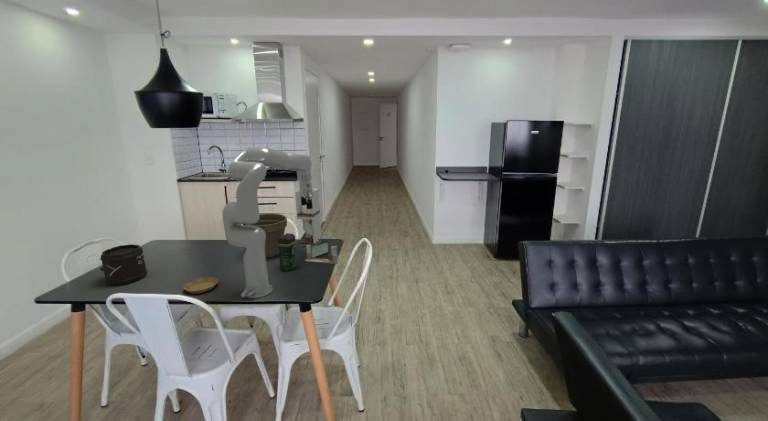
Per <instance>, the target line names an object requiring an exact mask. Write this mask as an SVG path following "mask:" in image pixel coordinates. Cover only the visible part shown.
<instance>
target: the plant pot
mask: <svg viewBox="0 0 768 421" xmlns="http://www.w3.org/2000/svg"><path fill="white" fill-rule="evenodd" d="M242 225H244V226H255V227H259V228H262V229H263V230H264V231H265V233H266V242H265V255H266V258H272V257H275V256H277V255H280V253H279V245H278V238H280V237H281V236H283V235H285V230H286V227H288V226H287V225H288V217H287V216H286V215H284V214H280V213H259V220H258V222H257V223H255V224H242Z"/></svg>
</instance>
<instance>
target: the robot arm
mask: <svg viewBox="0 0 768 421" xmlns="http://www.w3.org/2000/svg"><path fill="white" fill-rule="evenodd" d="M267 167H268V168H275V169H279V170H280V169H281V170H287V171H293V172H294V171H296V176H297V181H298V184H299V185H298V186H299V190H300V195H301V198H302V199H301V205H307V209H312V208H313V207H312V197H313V190H312V189H313V184H312V181H311V180H312V170H311V168H312V160H311V159H310V156H309V155H307V154H297V153H292V152H285V151H281V150H276V149H273V148H270V147H265V146H263V147H262V146H251V147H247V148H245V149H243V151H242V152H240V154H238V155H237V156H236V157H235V158H234V160H233V161H231V162H230V163H229V166H228V169H227V174H228V176H229V177H230V178H231V179H232V180H234V181H238V182H239V181H240V182H239V184H238V186H237V188H236V190H235V198H236V201H229V202H227V203H226V204H225V205H224V206H223V210H222V222H223V227H224V228H223V229H224V235H225V238H226V241H227V242H228V244H229V245H231V246H233V247H242V248H246V250H245V252H244V254H243V257H242V259H243V260H242V261H243V267H244V277H245V285H246V286H245V289H244V290H243V291H242V293H241V294H240V296H241V297H242V298H245V297H246V298H250V299H257V298H262V297H266V296H268V295H269V294H271V293H272V292H273V290H274V289H273V286H272V284H269V277H268V267H267V257H266V255H265V242H266V233H265V231H264V230H263V229H262V228H259V227H255V226H244V225H243V224H255V223H257V222H258V220H259V214H260V206H259V201H258V199H259V198H258V190H259V188H260V186H261V183H262V182H263V180H264V179H265V177H266V176H267Z"/></svg>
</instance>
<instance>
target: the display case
mask: <svg viewBox="0 0 768 421" xmlns="http://www.w3.org/2000/svg"><path fill="white" fill-rule="evenodd" d="M312 190H313V197H312V207H313V208H312V209H307V205H301V199H302V198H301V195H300V189H298V190H296V191H295V192H294V193H295V194H294V195H295V204H296V205H295V208H296V218H297V219H296V220H302V221H301V222H302V229H303V231H304V232H305V233H307V234H306V235H307V236H306V237H304V238H303V239H302V240H301V241H299V244H298V246H300V247H306V245H308V244H309V245H311V248H312V247H315V246H318V245H320V244H321V242H322V241H323V238H322V224H321V223H322V222H321V220H322V219H321V206H320V205H321V204H320V191H319V190H320V189H319V188H312ZM318 239H322V240H318Z"/></svg>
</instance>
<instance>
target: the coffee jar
mask: <svg viewBox="0 0 768 421" xmlns="http://www.w3.org/2000/svg"><path fill="white" fill-rule="evenodd" d="M296 240H297V239H296V235H295V234H294V233H284V235H283V236H281V237H280V238H278V245H279V269H280V270H281V271H284V272H285V271H286V272H287V271H292V270H294V269H295V268H296V267H298V259H297V251H296V250H297V247H296Z"/></svg>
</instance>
